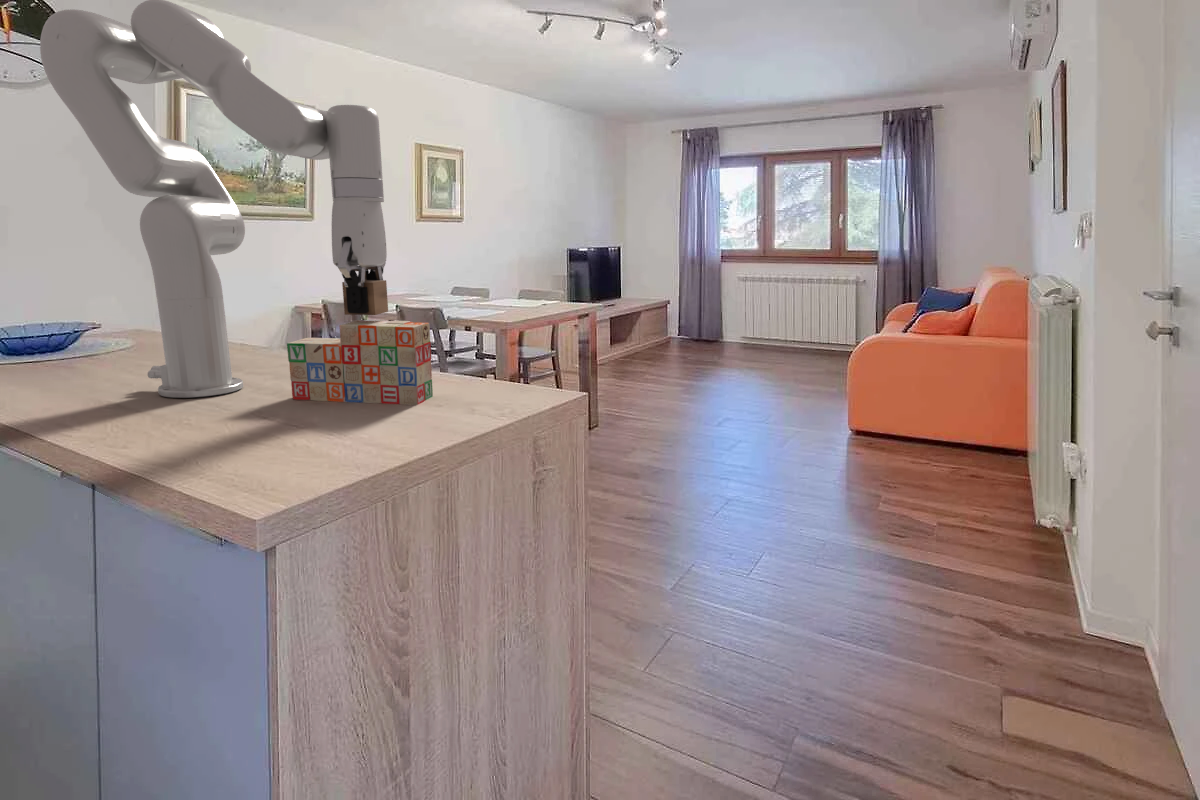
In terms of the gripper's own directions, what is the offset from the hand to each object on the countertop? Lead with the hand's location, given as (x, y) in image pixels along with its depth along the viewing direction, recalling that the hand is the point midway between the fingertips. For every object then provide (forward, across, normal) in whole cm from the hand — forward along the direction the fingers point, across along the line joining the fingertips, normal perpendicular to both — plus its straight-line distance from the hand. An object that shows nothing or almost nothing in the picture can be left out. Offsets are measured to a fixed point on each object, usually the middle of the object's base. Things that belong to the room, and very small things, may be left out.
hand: (366, 309), depth 119 cm
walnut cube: (+1, 0, 0) cm, 1 cm away
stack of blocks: (+14, +2, -1) cm, 14 cm away
